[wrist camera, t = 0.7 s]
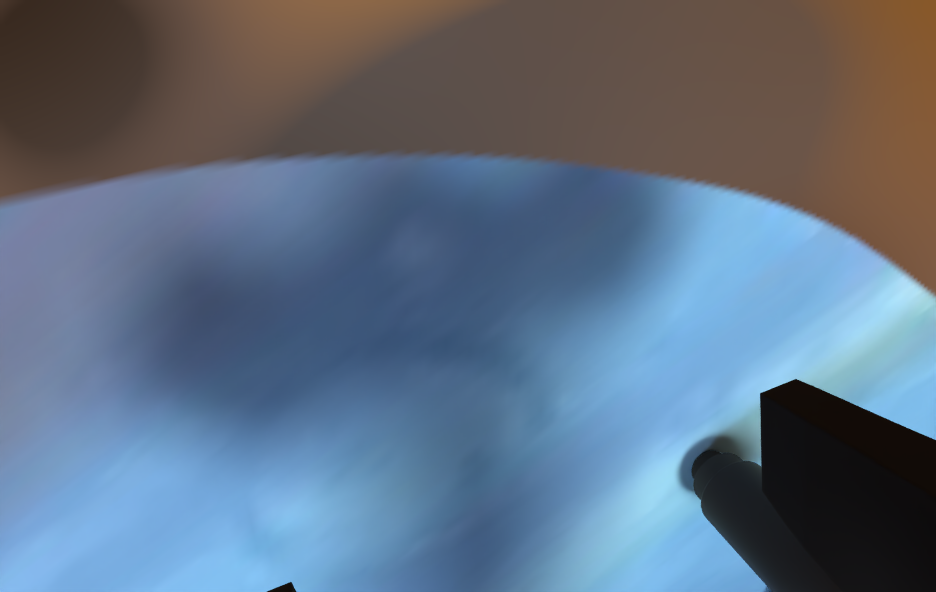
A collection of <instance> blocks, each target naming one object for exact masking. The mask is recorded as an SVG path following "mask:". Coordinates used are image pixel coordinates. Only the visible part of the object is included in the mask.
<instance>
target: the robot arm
mask: <svg viewBox="0 0 936 592" xmlns="http://www.w3.org/2000/svg"><path fill="white" fill-rule="evenodd" d="M760 408H761V463H762V492H763V493H764V494H765V496H766V497H767V499H768V500H769V502H770V503H771V504H772V506H773V507H774V509H775V510H776V512H777V513H778V514H779V516H780V517H781V519H782V520H783V522H784V523H785V524H786V526H787V527H788V528H789V530H790V531H791V532H792V534H793V535H794V536H795V538H796V539H797V540H798V542H799V543H800V544H801V546H802V547H803V548H804V549H805V551H806V552H807V553H808V554H809V555H810V556H811V557H812V558H813V559H814V561H815V562H816V563H817V564H818V565H819V566H820V567H821V568H822V569H823V570H824V571H825V573H826V574H827V575H828V576H829V577H830V578H831V579H832V580H833V581H834V582H835V583H836V585H837V586H838V587H839V588H840V589H841V590H842V591H843V592H936V440H934V439H932V438H929V437H927V436H925V435H922V434H920V433H918V432H915V431H913V430H911V429H908V428H906V427H904V426H901V425H899V424H897V423H895V422H892V421H890V420H888V419H886V418H883V417H881V416H879V415H877V414H874V413H872V412H870V411H868V410H865V409H863V408H861V407H859V406H856V405H854V404H852V403H850V402H847V401H845V400H843V399H841V398H839V397H836V396H834V395H832V394H830V393H827V392H825V391H823V390H820V389H818V388H816V387H814V386H811V385H809V384H807V383H804V382H802V381H799V380H797V379H795V380H792V381H790V382H787V383H785V384H782V385H780V386H777V387H775V388H772V389H770V390H768V391H765V392H763V393H760ZM267 592H296V590H295V588H294V586H293V584H292V582H290V583H287V584H285V585H282V586H280V587H277V588H275V589H272V590H270V591H267Z"/></svg>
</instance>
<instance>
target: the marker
mask: <svg viewBox="0 0 936 592" xmlns="http://www.w3.org/2000/svg"><path fill="white" fill-rule="evenodd" d="M692 476H693V478H694V484H693V486H694V491H695V494H696V495H697V496H698V498H699V499H700V500H701V508H702V512H703V514H704V516H705V517H706V518H707V520H708V521H709V522H710V523H711V524H712V525H713V526H714V527H715V528H716V530H717V531H718V532H719V533H720V534H721V535H722V536H723V537H724V538H725V540H726V541H727V542H728V543H729V544H730V545H731V546H732V547H733V549H734V550H735V551H736V552H737V553H738V554H739V555H740V556H741V557H742V559H743V560H744V561H745V562H746V563H747V564H748V565H749V566H750V568H751V569H752V570H753V571H754V572H755V573H756V574H757V575H758V576H759V578H760V579H761V580H762V581H763V582H764V583H765V584H766V585H767V587H768V588H769V589H770V590H771V591H772V592H843V591H842V590H841V589H840V588H839V587H838V586H837V585H836V583H835V582H834V581H833V580H832V579H831V578H830V577H829V576H828V575H827V574H826V573H825V571H824V570H823V569H822V568H821V567H820V566H819V565H818V564H817V563H816V562H815V561H814V559H813V558H812V557H811V556H810V555H809V554H808V553H807V552H806V551H805V549H804V548H803V547H802V546H801V544H800V543H799V542H798V540H797V539H796V538H795V536H794V535H793V534H792V532H791V531H790V530H789V528H788V527H787V526H786V524H785V523H784V522H783V520H782V519H781V517H780V516H779V514H778V513H777V512H776V510H775V509H774V507H773V506H772V504H771V503H770V502H769V500H768V499H767V497H766V496H765V494H764V493H763V492H762V467H761V466H760V465H758V464H757V463H754V462H751V461H743V460H742V459H741V458H740V457H738V456H737V455H735V454H732V453H720V452H718V451H714V450H712V451H707V452H705V453H703V454H701V455H700V456H699V457H698V458H697V459H696V460H695V462H694V464H693V466H692Z"/></svg>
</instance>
